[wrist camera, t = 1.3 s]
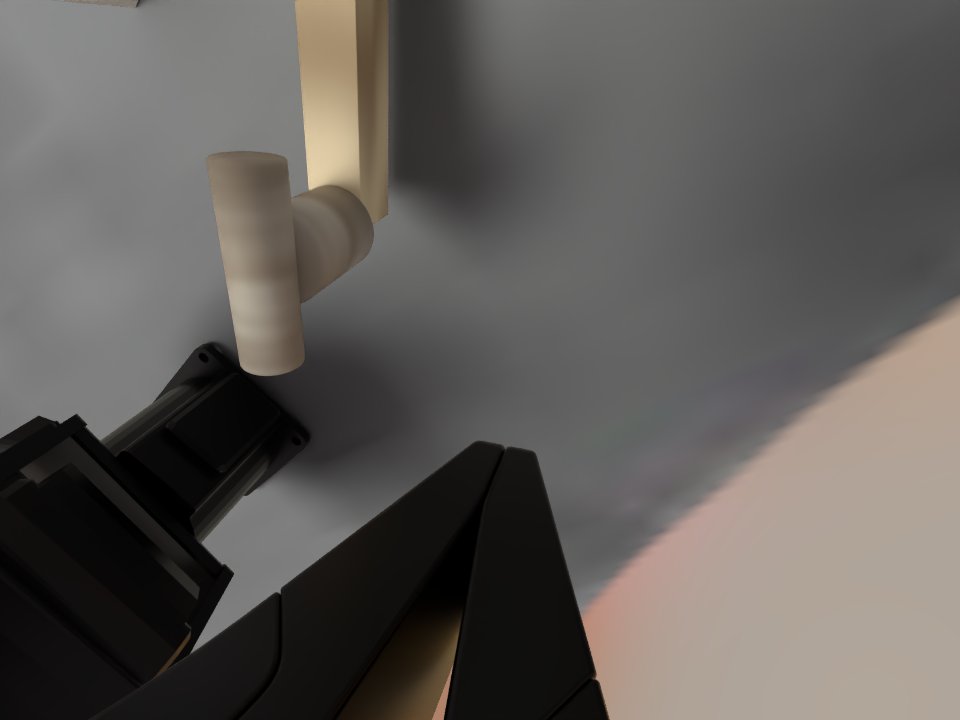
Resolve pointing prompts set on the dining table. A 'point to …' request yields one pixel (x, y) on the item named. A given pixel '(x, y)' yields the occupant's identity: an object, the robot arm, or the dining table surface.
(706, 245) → the dining table surface
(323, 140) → the crank
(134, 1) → the tray
